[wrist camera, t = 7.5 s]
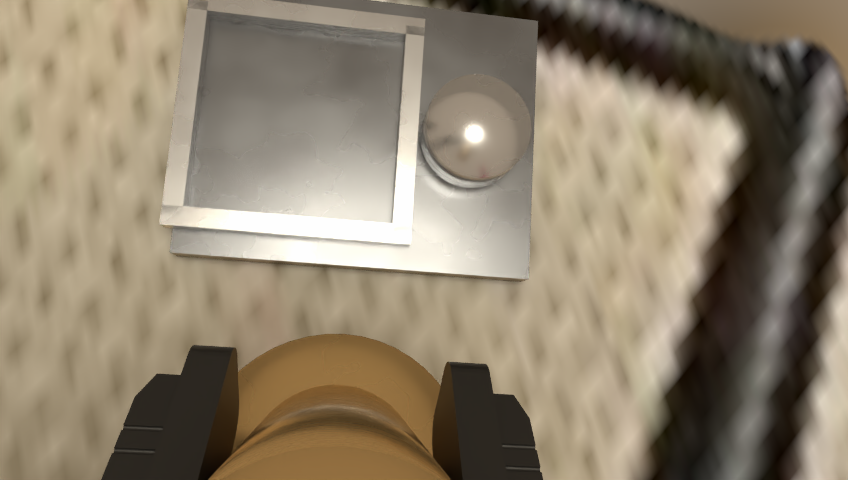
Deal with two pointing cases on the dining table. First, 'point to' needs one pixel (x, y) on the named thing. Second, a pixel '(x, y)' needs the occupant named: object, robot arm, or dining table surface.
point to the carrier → (354, 137)
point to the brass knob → (334, 414)
